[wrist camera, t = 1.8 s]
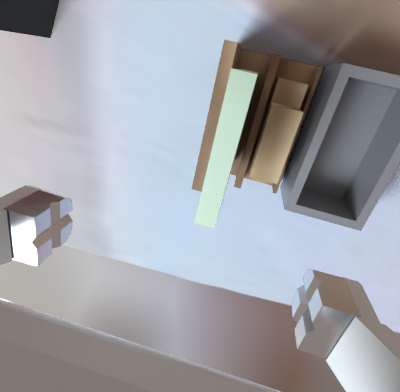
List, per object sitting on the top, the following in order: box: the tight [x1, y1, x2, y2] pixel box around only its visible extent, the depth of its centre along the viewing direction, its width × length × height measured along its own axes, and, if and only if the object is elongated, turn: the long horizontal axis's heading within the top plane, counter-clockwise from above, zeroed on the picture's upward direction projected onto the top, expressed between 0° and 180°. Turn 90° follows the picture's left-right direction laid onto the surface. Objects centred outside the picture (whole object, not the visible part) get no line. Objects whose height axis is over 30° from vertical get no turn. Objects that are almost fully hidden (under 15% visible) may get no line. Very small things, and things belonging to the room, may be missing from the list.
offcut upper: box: [250, 102, 304, 184], centre depth 31 cm, size 3×8×3 cm, turn 168°
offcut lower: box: [249, 77, 308, 172], centre depth 33 cm, size 3×11×3 cm, turn 168°
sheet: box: [194, 68, 258, 228], centre depth 27 cm, size 2×11×18 cm, turn 168°
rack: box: [192, 40, 324, 193], centre depth 32 cm, size 10×15×10 cm, turn 168°
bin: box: [280, 63, 400, 231], centre depth 32 cm, size 9×16×7 cm, turn 168°
